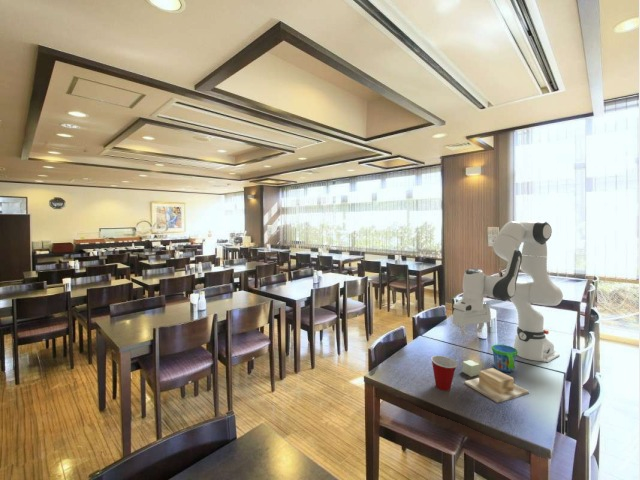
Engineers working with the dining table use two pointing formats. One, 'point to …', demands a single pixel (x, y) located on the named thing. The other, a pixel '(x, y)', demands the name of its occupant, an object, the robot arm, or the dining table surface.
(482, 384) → the foundation base
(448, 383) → the plastic cup
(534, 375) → the dining table surface
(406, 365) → the dining table surface
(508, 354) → the snack cup
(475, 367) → the sage cube
